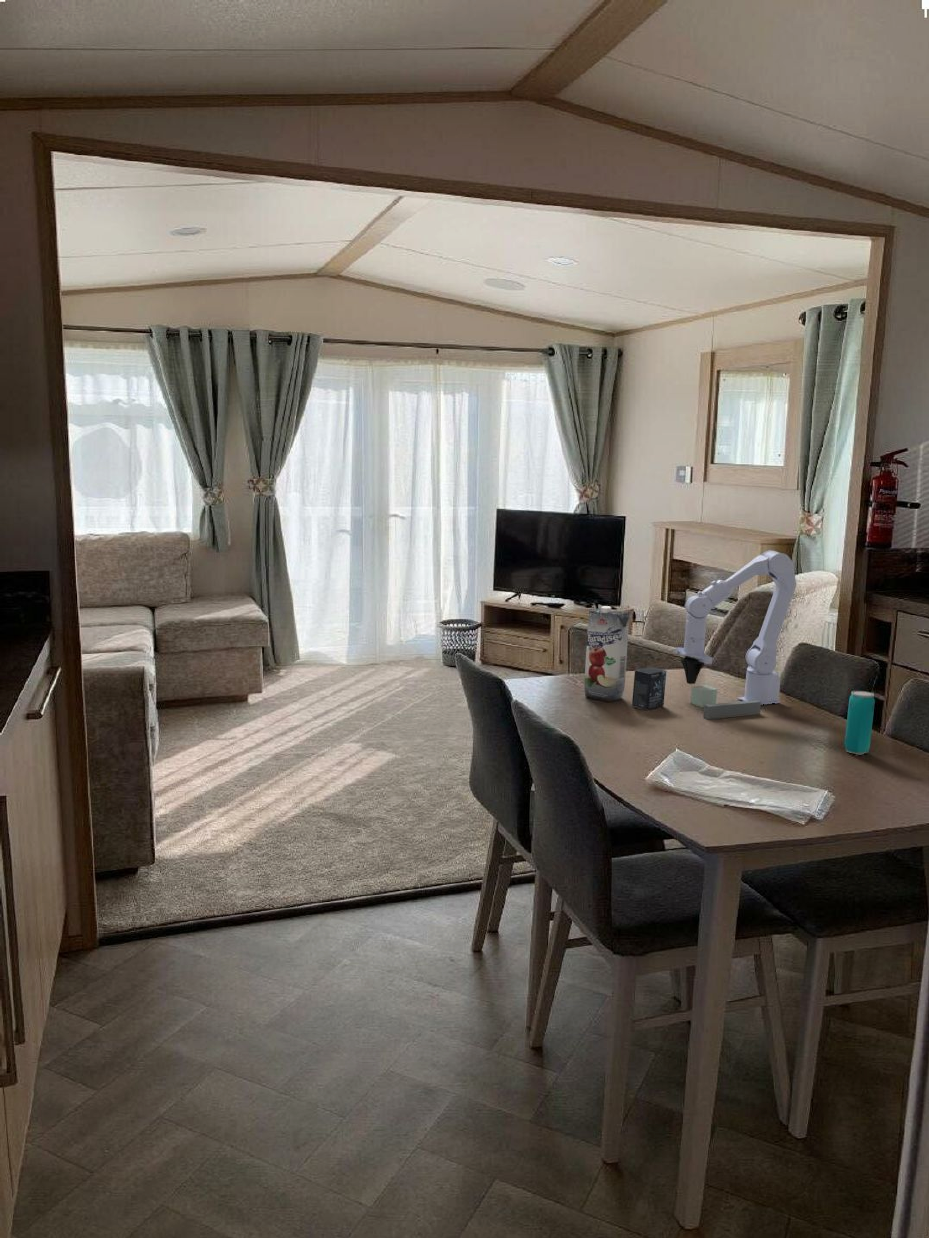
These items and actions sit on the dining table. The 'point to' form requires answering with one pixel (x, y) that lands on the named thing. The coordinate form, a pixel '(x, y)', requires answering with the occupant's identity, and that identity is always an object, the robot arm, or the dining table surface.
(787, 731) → the dining table surface
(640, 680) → the box
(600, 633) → the juice carton
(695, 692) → the block
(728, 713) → the board
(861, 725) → the beverage can
